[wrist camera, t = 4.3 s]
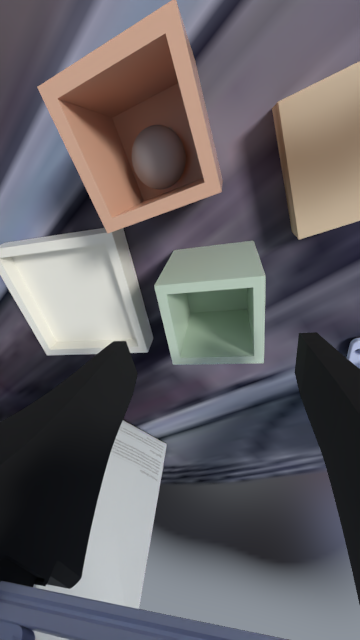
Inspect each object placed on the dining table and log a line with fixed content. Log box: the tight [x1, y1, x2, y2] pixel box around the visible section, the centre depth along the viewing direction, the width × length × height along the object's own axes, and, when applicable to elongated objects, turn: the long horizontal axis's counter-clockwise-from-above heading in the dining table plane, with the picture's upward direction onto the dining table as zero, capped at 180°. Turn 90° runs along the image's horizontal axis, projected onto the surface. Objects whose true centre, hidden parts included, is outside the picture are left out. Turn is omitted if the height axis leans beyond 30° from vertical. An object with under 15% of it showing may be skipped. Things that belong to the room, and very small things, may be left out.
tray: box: [0, 228, 153, 355], centre depth 18 cm, size 9×9×2 cm
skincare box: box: [32, 420, 167, 640], centre depth 23 cm, size 8×7×16 cm
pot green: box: [154, 241, 265, 365], centre depth 15 cm, size 5×5×6 cm
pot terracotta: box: [37, 0, 223, 234], centre depth 11 cm, size 5×5×6 cm
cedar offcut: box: [272, 61, 360, 240], centre depth 12 cm, size 6×3×2 cm, turn 22°
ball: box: [132, 125, 186, 189], centre depth 12 cm, size 3×3×3 cm
